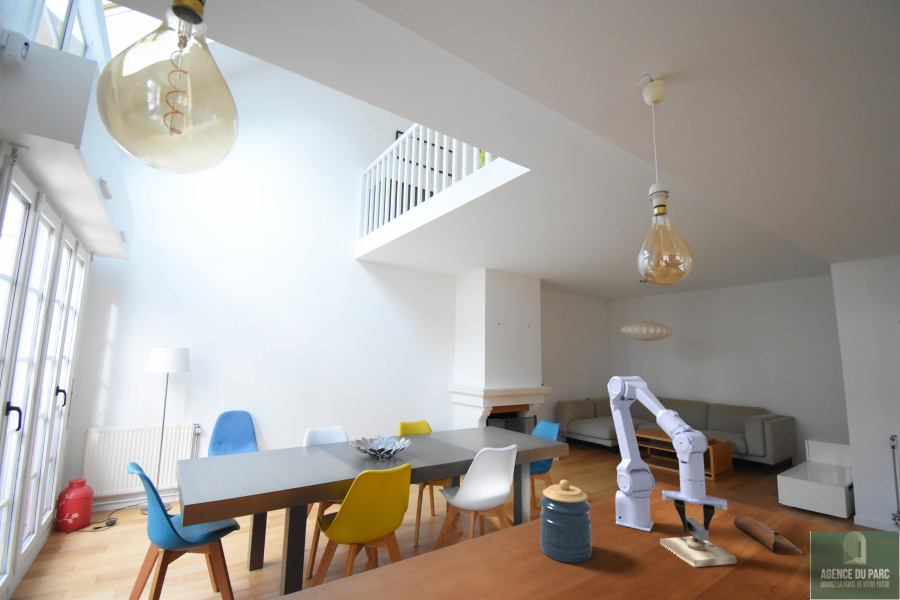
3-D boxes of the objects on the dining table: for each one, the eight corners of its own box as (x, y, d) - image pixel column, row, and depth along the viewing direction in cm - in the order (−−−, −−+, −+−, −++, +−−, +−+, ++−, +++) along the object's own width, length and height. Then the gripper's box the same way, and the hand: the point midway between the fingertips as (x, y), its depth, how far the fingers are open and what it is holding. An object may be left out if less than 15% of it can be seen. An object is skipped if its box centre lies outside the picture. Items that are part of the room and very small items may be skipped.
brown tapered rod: (808, 555, 106) (792, 530, 107) (785, 568, 106) (768, 544, 107) (763, 527, 124) (749, 506, 125) (742, 538, 124) (729, 517, 125)
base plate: (694, 567, 99) (693, 553, 99) (660, 544, 111) (659, 532, 111) (736, 563, 101) (735, 550, 102) (698, 541, 113) (698, 530, 113)
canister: (601, 551, 106) (598, 480, 109) (578, 570, 97) (576, 491, 99) (555, 536, 115) (554, 470, 117) (530, 551, 106) (529, 479, 108)
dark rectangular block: (699, 547, 102) (698, 529, 103) (683, 532, 111) (682, 515, 112) (709, 548, 102) (708, 530, 102) (692, 532, 111) (691, 516, 111)
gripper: (660, 477, 109) (663, 532, 107) (726, 487, 102) (730, 545, 100) (661, 471, 115) (664, 523, 113) (723, 479, 108) (727, 535, 106)
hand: (695, 533), depth 107 cm, fingers closed on dark rectangular block, 4 cm apart
